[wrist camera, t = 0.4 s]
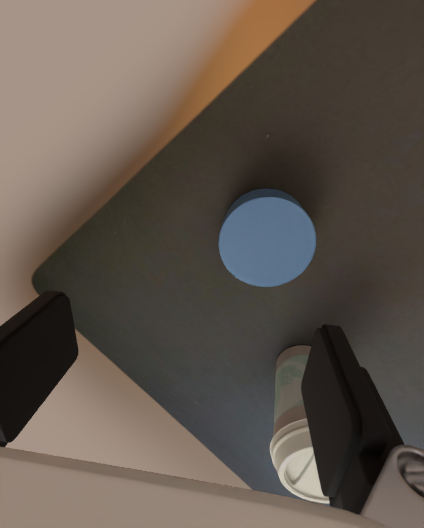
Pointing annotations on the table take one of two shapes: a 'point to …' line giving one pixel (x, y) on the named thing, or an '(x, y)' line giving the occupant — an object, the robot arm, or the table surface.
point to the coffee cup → (294, 428)
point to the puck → (266, 238)
